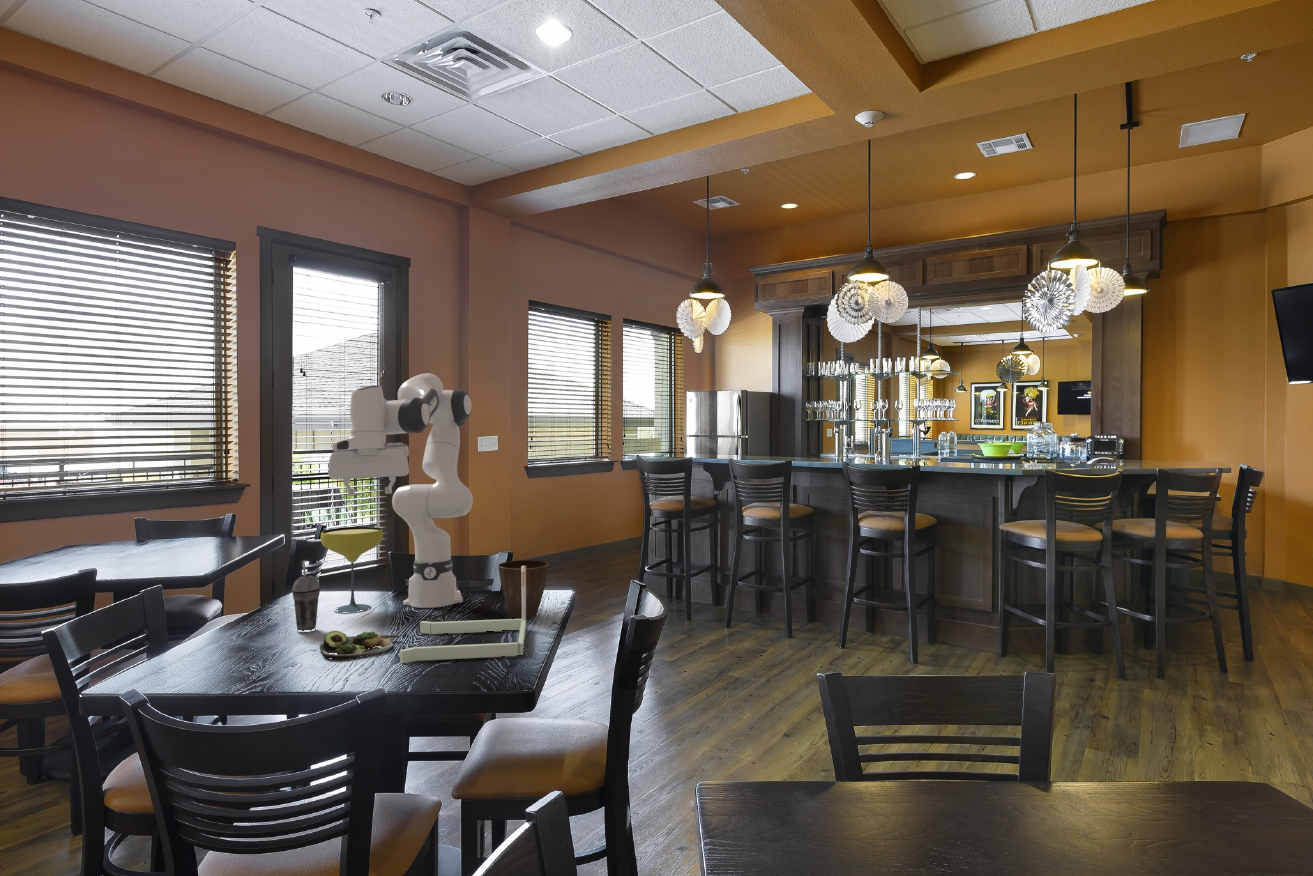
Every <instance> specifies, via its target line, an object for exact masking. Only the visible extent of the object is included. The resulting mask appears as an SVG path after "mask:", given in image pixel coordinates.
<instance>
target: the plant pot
mask: <svg viewBox="0 0 1313 876" xmlns="http://www.w3.org/2000/svg"><path fill="white" fill-rule="evenodd" d="M497 566H498V573H499V579H500V580H499V581H500V584H501V590H502V595H503V598H504V601H505V605H506V608H507V610H508V613H509V616H510V618H511V617H512V618H514V619H522V566H526V620H530V619H529V618H532V617H534V618H536V617H537V615H538V612H539V608H540V606H541V601H542V599H543V596H544V595H543V594H544V590H545V587H546V581H547V578H548V576H547V575H548V570H549V563H548V562H547V561H542V560H537V559H536V560H535V559H534V560H533V559H531V560H530V559H528V560H527V559H524V560H523V559H522V560H520V559H519V560H511V561H510V560H509V561H504V562H501V563H499V564H498V565H497ZM535 616H536V617H535ZM512 618H511V619H512ZM532 619H533V618H532Z"/></svg>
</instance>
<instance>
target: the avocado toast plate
mask: <svg viewBox="0 0 1313 876" xmlns="http://www.w3.org/2000/svg"><path fill="white" fill-rule="evenodd" d="M398 638H400V634H389V635H388V634H381V631H379V632H378V633H376V632H375V631H368V632H367V631H363V632H361V633H360V634H356V636H355V635H354V636H347V634H345V633H344V632H342V631H339V630H332V631H329V632H327V633H326V634H325V636H324V639H323V641H322V642H321V643H320V645H319V650H320V651H321V652H320V654H321V653H322V654H323V655H322V654H321V655H322V657H323V656H324V657H326V658H332V659H347V660H350V659H349V658H354V659H357V658H356V657H359V658H361V657H360V656H365V657H368V656H367V655H370V656H372V655H371V654H374V655H377V654H376V653H378V654H381V652H382V653H385V652H387V651H388V649H389V650H390V649H391V648H392V647H393V646H394V644H393V642H392V641H393V640H395V639H398ZM375 646H381V647H383V648H381V649H379V648H378V649H375V650H374V649H373V650H370V651H367V652H366V651H364V649H368V648H373V647H375ZM363 651H364V652H363ZM384 651H385V652H384ZM329 653H337V655H335V654H329ZM324 657H323V658H324ZM326 658H325V659H326Z"/></svg>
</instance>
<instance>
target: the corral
mask: <svg viewBox="0 0 1313 876" xmlns="http://www.w3.org/2000/svg"><path fill="white" fill-rule="evenodd" d="M502 630H518V631H519V634H518V639H517V640H518V641H516V642H501V643H499V642H498V643H480V644H479V643H476V644H455V645H437V646H436V645H435V646H433V645H432V646H429V645H428V646H416V647H410V648H409V647H408V648H405V649H400V651H399V658H400V659H399V661H400V662H399V663H400V664H403V663H404V664H407V663H412V661H413V662H419V661H437V660H438V661H439V660H440V661H441V660H456V659H457V660H458V659H462V660H463V659H478V658H479V659H482V658H500V657H502V656H505V657H518V656H517V655H524V649H523V648H525V641H524V640H526V634H525V633H527V619H526V566H522V619H512V618H506V619H505V618H504V619H481V620H478V619H476V620H457V621H456V620H453V621H428V620H427V621H425V620H422V621H419V633H421V634H426V635H444V633H445V634H446V633H448V634H465V633H467V634H469V633H471V634H472V633H487V632H486V631H494V632H503V631H502Z"/></svg>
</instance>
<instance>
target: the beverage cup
mask: <svg viewBox="0 0 1313 876" xmlns="http://www.w3.org/2000/svg"><path fill="white" fill-rule="evenodd" d="M302 569H303V570H302V571H303V576H300V577H299V578H297V579H296V580H295V581H294V583H293V586H292V590H291V592H292V599H293V602H294V611H295V624H296V631H298V630H302V631H304V630H312V629H314V628H315V629H316V625H317V618H318V606H319V596H320V592H321V584H320V582H319V580H318V579H317V578H316V577H314V576H313V575H308V574H306V573H307V571H306V562H305V560H302Z"/></svg>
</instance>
